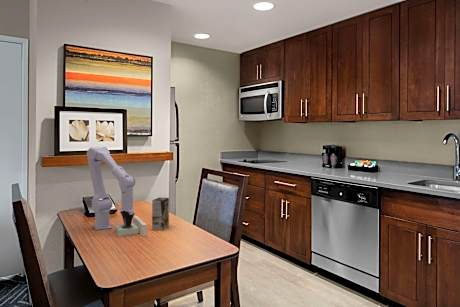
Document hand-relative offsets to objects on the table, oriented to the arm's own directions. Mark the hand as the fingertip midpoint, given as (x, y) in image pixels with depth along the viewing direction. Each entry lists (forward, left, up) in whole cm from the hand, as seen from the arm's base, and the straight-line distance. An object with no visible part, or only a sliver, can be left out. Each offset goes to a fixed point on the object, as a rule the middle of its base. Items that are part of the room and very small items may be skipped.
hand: (127, 225), depth 172 cm
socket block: (0, 0, -4) cm, 4 cm away
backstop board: (+1, +6, -4) cm, 7 cm away
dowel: (0, 0, -1) cm, 1 cm away
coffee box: (0, +18, -4) cm, 18 cm away
